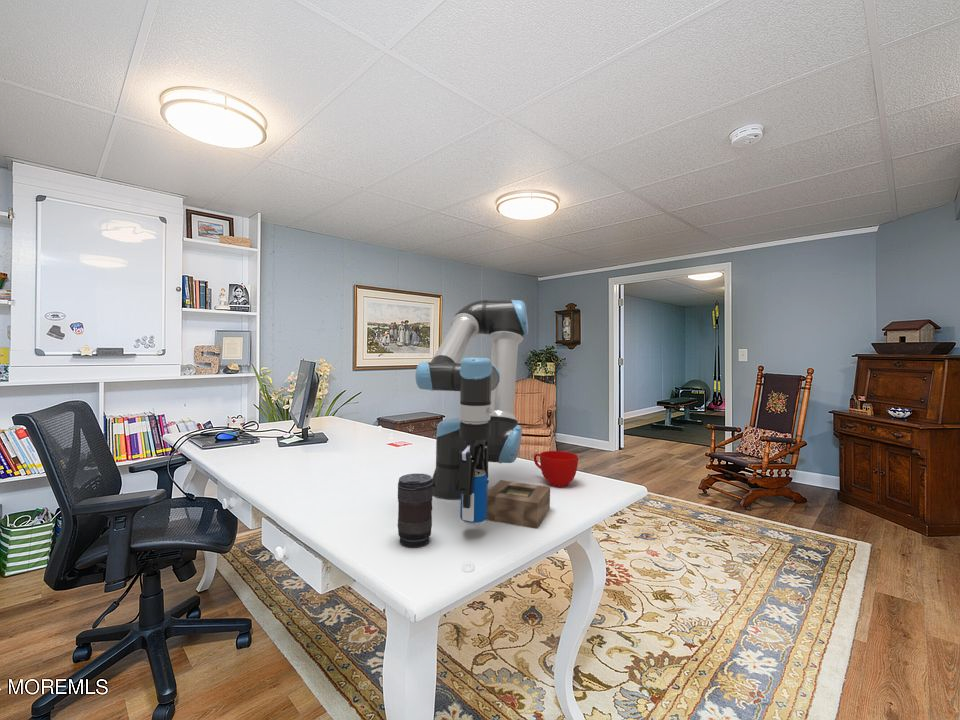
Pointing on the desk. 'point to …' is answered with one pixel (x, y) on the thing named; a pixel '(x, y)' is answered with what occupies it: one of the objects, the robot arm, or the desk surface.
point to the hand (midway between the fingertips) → (473, 514)
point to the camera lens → (415, 509)
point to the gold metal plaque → (517, 492)
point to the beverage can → (478, 498)
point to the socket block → (518, 504)
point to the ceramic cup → (557, 467)
